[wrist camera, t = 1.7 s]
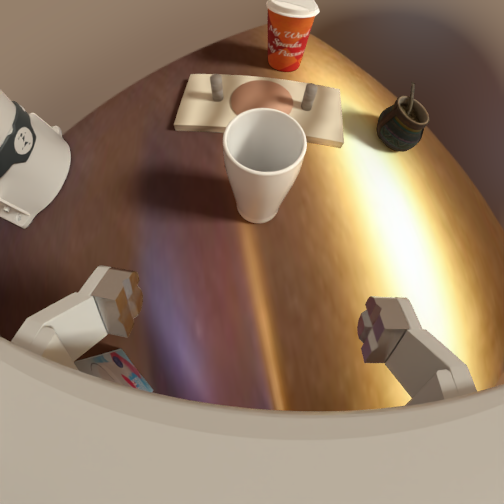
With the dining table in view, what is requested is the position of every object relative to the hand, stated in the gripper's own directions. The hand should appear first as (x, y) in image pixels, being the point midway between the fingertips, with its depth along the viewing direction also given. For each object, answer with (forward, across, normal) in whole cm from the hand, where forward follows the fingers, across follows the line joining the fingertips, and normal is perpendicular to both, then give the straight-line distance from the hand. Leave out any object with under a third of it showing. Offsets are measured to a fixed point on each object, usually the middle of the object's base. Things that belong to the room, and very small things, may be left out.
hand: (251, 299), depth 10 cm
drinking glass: (+26, 0, +8) cm, 27 cm away
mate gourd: (+37, -20, -2) cm, 42 cm away
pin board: (+37, +1, -3) cm, 37 cm away
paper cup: (+46, -2, -12) cm, 47 cm away
